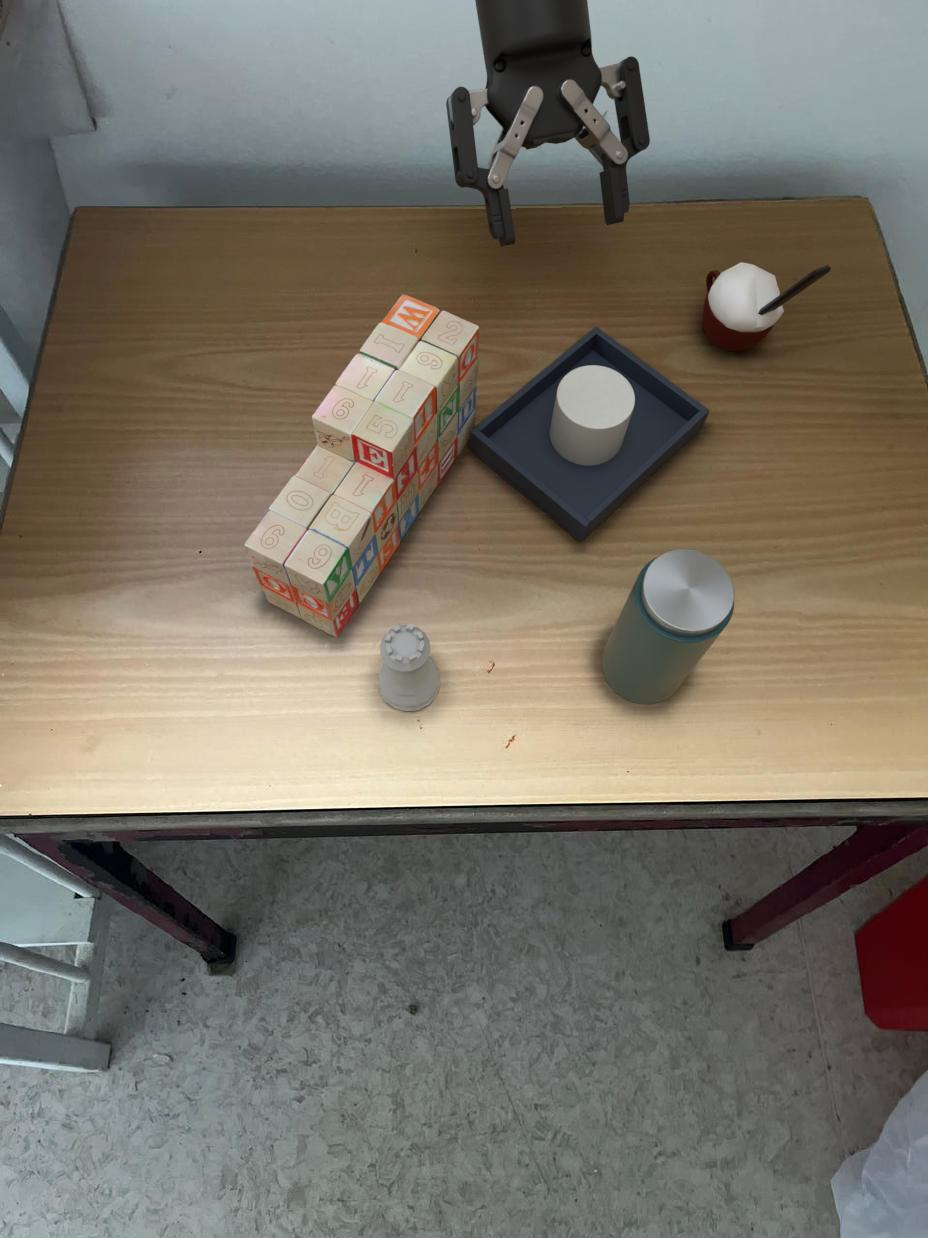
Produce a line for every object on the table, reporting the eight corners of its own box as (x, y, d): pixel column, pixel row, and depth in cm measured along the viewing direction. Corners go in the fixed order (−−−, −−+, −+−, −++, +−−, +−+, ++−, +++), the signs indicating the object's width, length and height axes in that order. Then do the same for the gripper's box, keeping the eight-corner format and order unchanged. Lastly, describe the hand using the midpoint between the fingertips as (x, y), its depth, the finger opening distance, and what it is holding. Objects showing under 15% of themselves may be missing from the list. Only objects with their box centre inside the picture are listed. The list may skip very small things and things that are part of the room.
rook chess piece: (447, 703, 60) (448, 664, 53) (387, 720, 60) (379, 683, 53) (431, 647, 62) (429, 602, 55) (371, 663, 62) (361, 619, 54)
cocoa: (685, 299, 76) (726, 182, 65) (754, 295, 76) (806, 178, 65) (707, 384, 72) (754, 276, 61) (779, 380, 73) (839, 271, 62)
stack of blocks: (338, 641, 62) (315, 564, 51) (267, 603, 63) (228, 520, 52) (476, 430, 70) (481, 323, 59) (410, 400, 71) (403, 289, 60)
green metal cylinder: (637, 611, 64) (681, 525, 52) (699, 665, 62) (760, 588, 50) (584, 665, 62) (617, 588, 50) (647, 721, 60) (697, 656, 48)
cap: (582, 392, 71) (592, 351, 66) (637, 435, 69) (651, 396, 65) (534, 434, 69) (540, 395, 65) (589, 479, 68) (599, 442, 63)
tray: (591, 345, 74) (595, 325, 71) (701, 428, 70) (710, 410, 68) (468, 449, 69) (469, 430, 67) (580, 542, 66) (585, 526, 64)
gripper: (437, -26, 53) (483, 250, 59) (648, -61, 55) (671, 211, 61) (417, 11, 60) (461, 255, 66) (605, -21, 62) (631, 220, 68)
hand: (562, 234), depth 64 cm, fingers open, 8 cm apart
